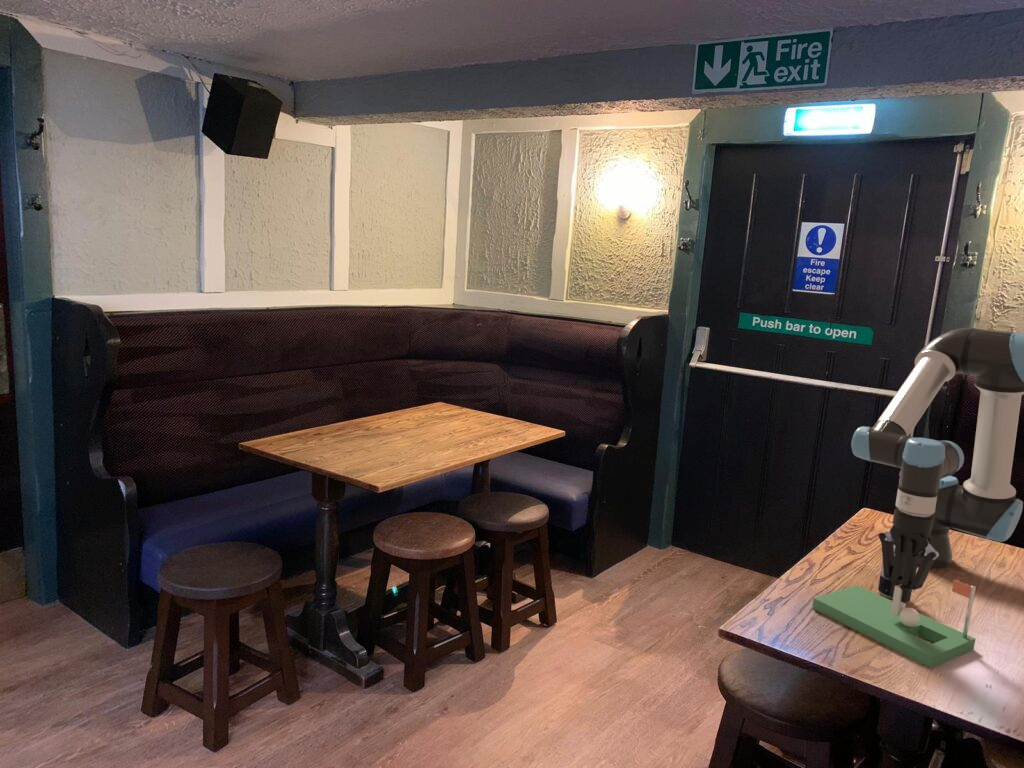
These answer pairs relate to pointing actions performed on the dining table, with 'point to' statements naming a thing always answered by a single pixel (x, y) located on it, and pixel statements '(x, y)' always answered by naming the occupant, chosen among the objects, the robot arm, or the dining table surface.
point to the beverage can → (885, 582)
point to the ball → (909, 617)
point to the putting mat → (893, 626)
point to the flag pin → (969, 593)
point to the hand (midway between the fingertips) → (897, 613)
